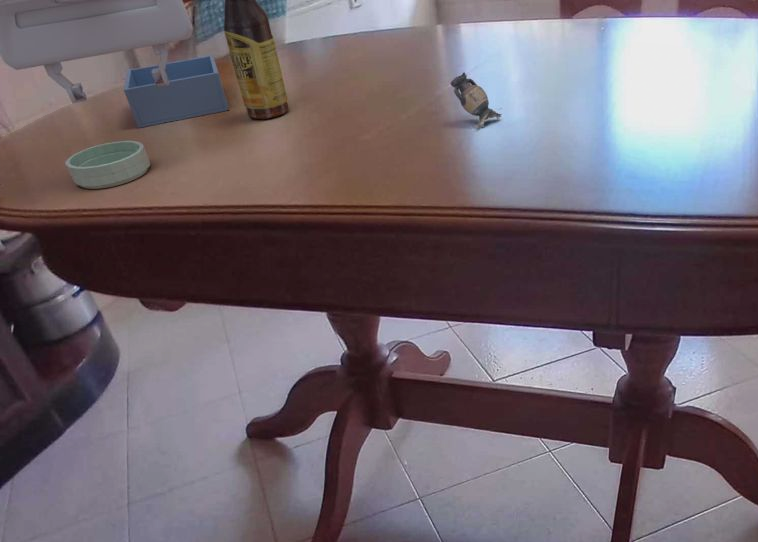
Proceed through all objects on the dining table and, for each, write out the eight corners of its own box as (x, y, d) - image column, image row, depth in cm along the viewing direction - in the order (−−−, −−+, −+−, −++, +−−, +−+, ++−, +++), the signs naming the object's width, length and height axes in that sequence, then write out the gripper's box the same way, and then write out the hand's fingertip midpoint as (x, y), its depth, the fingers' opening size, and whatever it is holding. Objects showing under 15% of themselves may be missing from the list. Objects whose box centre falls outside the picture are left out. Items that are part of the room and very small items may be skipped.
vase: (445, 125, 92) (439, 77, 88) (474, 112, 95) (469, 66, 91) (474, 132, 88) (469, 83, 85) (503, 119, 91) (499, 71, 88)
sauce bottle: (240, 116, 103) (195, -36, 91) (278, 104, 106) (238, -44, 95) (261, 124, 99) (216, -34, 87) (299, 112, 102) (261, -42, 90)
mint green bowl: (72, 196, 83) (61, 174, 81) (79, 171, 90) (69, 150, 88) (151, 179, 85) (142, 157, 84) (152, 156, 92) (144, 135, 91)
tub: (138, 128, 103) (123, 90, 100) (140, 105, 113) (127, 69, 110) (229, 110, 106) (218, 72, 103) (223, 89, 117) (213, 54, 113)
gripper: (169, -56, 80) (210, 70, 88) (-28, -26, 75) (34, 103, 83) (170, -51, 75) (212, 81, 83) (-41, -20, 70) (26, 118, 78)
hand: (122, 93), depth 83 cm, fingers open, 8 cm apart
